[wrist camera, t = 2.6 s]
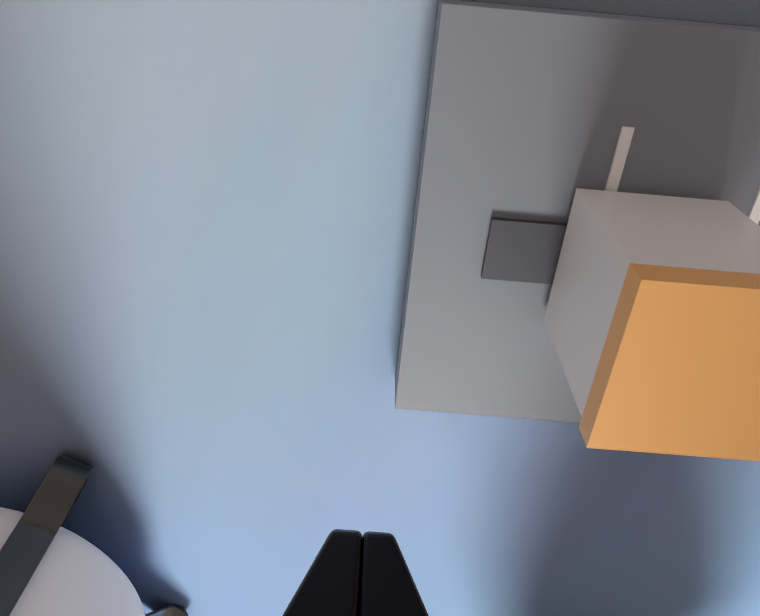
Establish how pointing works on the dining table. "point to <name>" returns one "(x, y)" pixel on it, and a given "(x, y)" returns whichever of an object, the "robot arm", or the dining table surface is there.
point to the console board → (552, 178)
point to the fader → (660, 324)
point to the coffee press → (61, 558)
